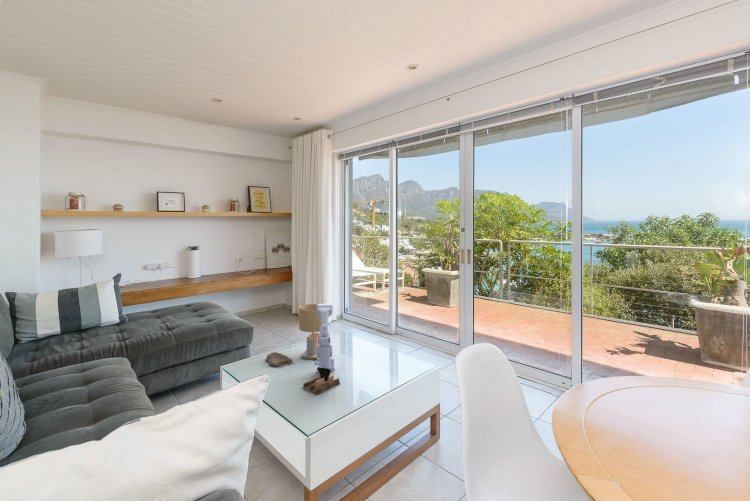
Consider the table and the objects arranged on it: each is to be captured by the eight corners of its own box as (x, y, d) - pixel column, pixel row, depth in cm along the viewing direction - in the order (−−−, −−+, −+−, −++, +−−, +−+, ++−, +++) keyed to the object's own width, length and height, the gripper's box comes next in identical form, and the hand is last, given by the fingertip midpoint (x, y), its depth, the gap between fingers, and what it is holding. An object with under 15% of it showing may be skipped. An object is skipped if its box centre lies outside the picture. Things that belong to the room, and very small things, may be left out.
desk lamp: (305, 349, 262) (305, 303, 259) (330, 351, 258) (330, 304, 255) (294, 359, 243) (294, 309, 240) (321, 362, 239) (321, 311, 236)
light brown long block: (330, 380, 207) (330, 374, 207) (333, 382, 206) (333, 375, 206) (315, 387, 198) (315, 381, 198) (318, 389, 197) (318, 382, 196)
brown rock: (261, 359, 243) (273, 368, 227) (261, 352, 242) (273, 361, 227) (281, 355, 252) (293, 364, 236) (281, 349, 251) (293, 356, 236)
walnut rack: (326, 378, 214) (326, 373, 214) (339, 383, 207) (340, 378, 206) (302, 388, 200) (302, 383, 200) (316, 395, 193) (316, 389, 193)
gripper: (310, 355, 202) (310, 378, 203) (328, 362, 193) (328, 386, 194) (320, 352, 208) (320, 374, 209) (337, 358, 198) (337, 381, 199)
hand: (324, 379), depth 202 cm, fingers closed on light brown long block, 2 cm apart
